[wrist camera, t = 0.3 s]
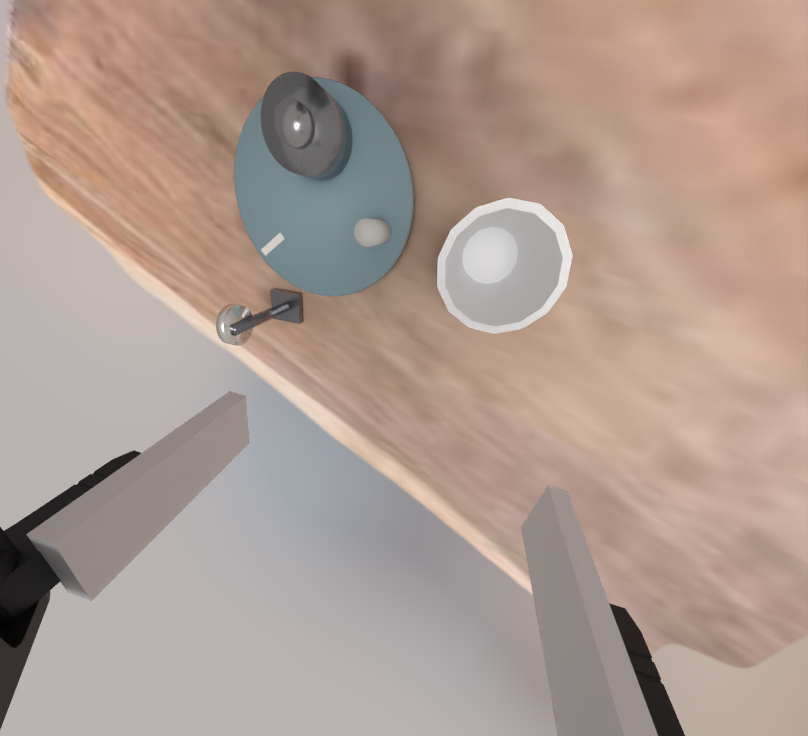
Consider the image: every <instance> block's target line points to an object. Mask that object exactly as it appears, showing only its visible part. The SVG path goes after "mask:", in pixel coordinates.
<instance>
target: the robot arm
mask: <svg viewBox="0 0 808 736" xmlns="http://www.w3.org/2000/svg"><path fill="white" fill-rule="evenodd" d="M248 444H249V432H248V419H247V406H246V396H244V395H240V394H237V393H233V392H230V391H229V392H228V393H227V394H225V395H224V396H222V397H221V398H219V399H218V400H217V401H215V402H214V403H212V404H211V405H209V406H208V407H207V408H205V409H204V410H202V411H201V412H200V413H198V414H197V415H195V416H194V417H192V418H191V419H190V420H188V421H187V422H185V423H184V424H183V425H181V426H180V427H178V428H177V429H175V430H174V431H173V432H171V433H170V434H168V435H167V436H165V437H164V438H163V439H161V440H160V441H158V442H157V443H155V444H154V445H153V446H152V447H150V448H148V449H147V450H146V451H144V452H143V453H140V452H137V451H132V452H129V453H127V454H124V455H122V456H120V457H117V458H115V459H113V460H111V461H110V462H108V463H107V464H105V465H104V466H102V467H101V468H99V469H98V470H96V471H95V472H94V474H90V475H88V476H87V477H85V478H84V479H82V480H81V481H79V483H78V484H77V485H73V486H72V487H70V488H69V489H68V490H66V491H64V492H63V493H61V494H60V495H58V496H57V497H55V498H54V499H52V500H51V501H49V502H48V503H46V504H45V505H43V506H42V507H40V508H39V509H37V510H36V511H34V512H33V513H31V514H30V515H28V516H27V517H25V518H24V519H22V520H21V521H19V522H18V523H16V524H15V525H13V526H11V527H10V528H8V529H6V530H5V531H3V530H2V529H1V527H0V728H1V726H2V724H3V721H4V718H5V715H6V713H7V710H8V708H9V705H10V703H11V700H12V697H13V695H14V692H15V689H16V687H17V684H18V682H19V679H20V676H21V673H22V671H23V668H24V666H25V663H26V660H27V658H28V655H29V653H30V650H31V647H32V645H33V642H34V639H35V637H36V634H37V632H38V629H39V626H40V624H41V621H42V618H43V615H44V613H45V611H46V608H47V605H48V603H49V599H50V590H51V589H52V588H53V587H54V586H55V585H57V584H58V583H59V582H61V583H62V585H63V586H64V587H65V589H66V590H67V592H69V593H72V594H75V595H77V596H80V597H82V598H85V599H88V600H90V601H92V600H93V599H94V598H95V597H96V596H97V595H98V594H99V593H100V592H101V591H102V590H103V589H104V588H105V587H106V586H107V585H108V584H109V583H110V582H111V581H112V580H113V579H114V578H115V577H116V576H117V575H118V574H119V573H120V572H121V571H122V570H123V569H124V568H125V567H126V566H127V565H128V564H129V563H130V562H131V561H132V560H133V559H134V558H135V557H136V556H137V555H138V554H139V553H140V552H141V551H142V550H143V549H144V548H145V547H146V546H147V545H148V544H149V543H150V542H151V541H152V540H153V539H154V538H155V537H156V536H157V535H158V534H159V533H160V532H161V531H162V530H163V529H164V528H165V527H166V526H167V525H168V524H169V523H170V522H171V521H172V520H173V519H174V518H175V517H176V516H177V515H178V514H179V513H180V512H181V511H182V510H183V509H184V508H185V507H186V506H187V505H188V504H189V503H190V502H191V501H192V500H193V499H194V498H195V496H197V495H198V494H199V493H200V492H201V491H202V490H203V489H204V488H205V487H206V486H207V485H208V484H209V483H210V482H211V480H213V479H214V478H215V477H216V476H217V475H218V473H220V472H221V471H222V470H223V469H224V468H225V467H226V466H227V465H228V464H229V463H230V462H231V461H232V460H233V459H234V458H235V457H236V456H237V455H238V454H239V453H240V452H241V451H242V450H243V449H244V448H245V447H246V446H247V445H248ZM521 528H522V534H523V539H524V545H525V551H526V556H527V562H528V568H529V574H530V579H531V585H532V591H533V597H534V602H535V608H536V614H537V619H538V624H539V631H540V637H541V642H542V648H543V654H544V660H545V665H546V671H547V676H548V683H549V688H550V694H551V699H552V705H553V710H554V717H555V723H556V728H557V734H558V736H685V735H684V732H683V730H682V728H681V725H680V723H679V720H678V718H677V716H676V713H675V711H674V709H673V706H672V704H671V702H670V699H669V697H668V695H667V692H666V690H665V687H664V685H663V684H662V683H661V681H660V679H661V678H660V676H659V673H658V671H657V668H656V666H655V664H654V662H652V660H651V658H652V657H651V654H650V652H649V649H648V647H647V645H646V642H645V640H644V638H643V635H642V633H641V631H640V630H639V628H638V627H637V625H636V624H635V622H634V621H633V619H632V618H631V616H630V615H629V613H628V612H627V611H626V609H625V608H622V607H619V606H616V605H613V604H610V603H609V602H608V599H607V596H606V594H605V591H604V588H603V586H602V583H601V580H600V577H599V575H598V572H597V569H596V567H595V564H594V561H593V559H592V556H591V553H590V550H589V548H588V545H587V542H586V540H585V537H584V534H583V532H582V529H581V526H580V523H579V521H578V518H577V515H576V513H575V510H574V507H573V505H572V502H571V499H570V496H569V494H568V491H565V490H562V489H559V488H555V487H552V486H549V485H548V486H547V488H546V489H545V491H544V493H543V494H542V496H541V497H540V499H539V500H538V502H537V503H536V505H535V507H534V508H533V510H532V511H531V513H530V514H529V516H528V517H527V519H526V521H525V522H524V524H523V525H522V527H521Z"/></svg>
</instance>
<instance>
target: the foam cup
mask: <svg viewBox="0 0 808 736" xmlns="http://www.w3.org/2000/svg"><path fill="white" fill-rule="evenodd" d="M572 256H573V255H572V252H571V248H570V245H569V242H568V238H567V235H566V231H565V228H564V225H563V224H562V223H561V222H560V221H559V220H557V219H556V218H555V217H554V216H553V215H552V214H551V213H550V212H549V211H548V210H547V209H545V208H544V207H543V206H542V205H541V204H538V203H533V202H528V201H523V200H518V199H513V198H505V199H502V200H499V201H495V202H492V203H489V204H485V205H482V206H479V207H476V208H475V209H474V210H472V211H471V212H470V213H469V214H468V215H467V216H466V217H464V218H463V219H462V220H461V221H460V222H459V223H458V224H457V225H455V226H454V227H453V228H452V229H451V230H450V233H449V235H448V237H447V239H446V241H445V243H444V246H443V248H442V250H441V252H440V254H439V256H438V268H437V288H438V290H439V292H440V294H441V296H442V299H443V301H444V303H445V305H446V307H447V309H448V311H449V312H450V313H451V314H452V315H454V316H455V317H456V318H457V319H458V320H460V321H461V322H462V323H463V324H465V325H466V326H467V327H468V328H472V329H476V330H481V331H485V332H489V333H493V334H496V333H502V332H507V331H513V330H519V329H523V328H524V327H526V326H528V325H529V324H531V323H532V322H534V321H535V320H537V319H539V318H540V317H542V316H543V315H545V314H547V313H548V312H549V310H550V309H551V308H552V306H553V305H554V303H555V302H556V301H557V299H558V298H559V296H560V295H561V294H562V292H563V291H564V289H565V288H566V286H567V281H568V276H569V271H570V266H571V261H572Z"/></svg>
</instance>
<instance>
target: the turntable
mask: <svg viewBox="0 0 808 736" xmlns="http://www.w3.org/2000/svg"><path fill="white" fill-rule="evenodd" d="M313 79H314V80H315V81H316V82H317V83H318V84H320V85H321V86H322V87H323V88H324V89H325V90H326V91H327V92H328V93H329V94H330V95H331V96H332V97H333V98H334V99H335V100H336V101H337V102H338V103H339V104H340V105H341V106H342V108H343V109H344V111H345V112H346V114H347V117H348V119H349V122H350V125H351V129H352V140H353V143H352V151H351V155H350V159H349V161H348V163H347V165H346V167H345V168H344V170H343V171H342V172H341V173H340V174H339V175H337V176H336V177H334V178H332V179H330V180H325V181H320V180H315V179H311V178H308V177H305V176H301V175H298V174H295V173H292V172H290V171H288V170H286V169H285V168H283V167H282V166H281V165H280V164H279V163H278V162H277V161H276V160H275V159H274V157H273V156H272V154H271V153H270V151H269V149H268V147H267V145H266V143H265V140H264V137H263V133H262V128H261V106H262V101H263V99H261V100H260V101H259V103H258V104H257V105H256V107H255V108H254V109H253V110H252V112H251V113H250V115H249V117H248V119H247V121H246V122H245V124H244V127H243V130H242V132H241V135H240V138H239V142H238V145H237V149H236V157H235V166H234V181H235V192H236V198H237V204H238V208H239V211H240V215H241V218H242V221H243V223H244V226H245V229H246V231H247V233H248V235H249V237H250V239H251V241H252V243H253V244H254V246H255V247H256V249H257V251H258V252H259V253H260V255H261V256H262V257H263V259H264V260H265V261H266V262H267V263H268V265H269V266H270V267H271V268H272V269H273V270H274V271H275V272H276V273H278V274H279V275H280V276H281V277H282V278H284V279H285V280H287V281H288V282H289V283H291V284H293V285H294V286H296V287H298V288H300V289H302V290H305V291H308V292H310V293H314V294H318V295H324V296H343V295H348V294H352V293H355V292H358V291H361V290H363V289H365V288H367V287H369V286H370V285H372V284H374V283H375V282H376V281H378V280H379V279H381V278H382V277H383V276H384V275H385V274H386V273H387V272H388V271H389V270H390V269H391V268H392V267H393V266H394V264H395V263H396V262H397V260H398V259H399V257H400V255H401V254H402V252H403V250H404V248H405V245H406V243H407V241H408V238H409V234H410V231H411V227H412V222H413V216H414V202H415V201H414V185H413V179H412V173H411V169H410V166H409V162H408V159H407V156H406V154H405V151H404V149H403V146H402V144H401V142H400V141H399V139H398V137H397V135H396V133H395V132H394V130H393V129H392V127H391V126H390V125H389V123H388V122H387V121H386V119H385V118H384V117H383V115H382V114H381V113H380V112H379V111H378V110H377V109H376V108H375V107H374V105H373V104H372V103H371V102H370V101H369V100H367V99H366V98H365V97H363V96H362V95H361V94H360V93H358V92H357V91H355V90H353V89H352V88H350V87H348V86H346V85H344V84H342V83H339V82H336V81H333V80H330V79H324V78H318V77H317V78H313Z"/></svg>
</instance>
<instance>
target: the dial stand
mask: <svg viewBox="0 0 808 736" xmlns="http://www.w3.org/2000/svg"><path fill="white" fill-rule="evenodd" d="M271 301H272V308H270V309H267V310H265V311H263V312H260V313H258V314H255V315H253V316H252V314H251V312H250V310H249V309H248V308H247V307H245V306H241V305H236V304H229V305H227V306H225V307H224V308H223V309H222V310H221V311H220V313H219V315H218V318H217V322H216V329H217V333H218V336H219V338H220V339H221V340H222V341H223V342H225V343H227V344H232V345H242V344H244V343H245V342H246V341H247V340H248V339H249V337H250V335H251V333H252V330H253V327H255V326H257V325H260V324H262V323H264V322H266V321H268V320H270V319H272V318H273V319H278V320H283V321H289V322H294V323H299V324H300V323H302V322H303V301H302V293H298V292H292V291H287V290H281V289H272V290H271Z"/></svg>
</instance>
